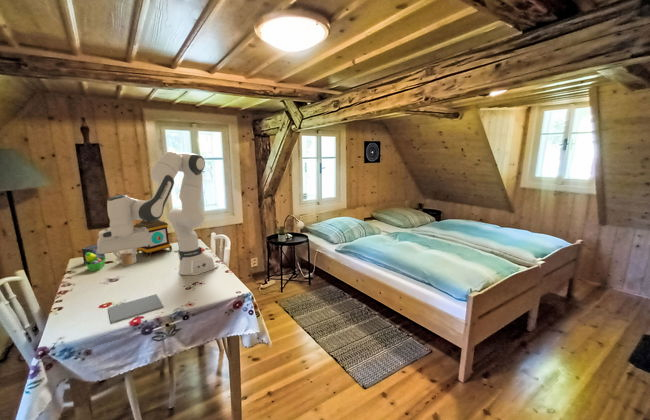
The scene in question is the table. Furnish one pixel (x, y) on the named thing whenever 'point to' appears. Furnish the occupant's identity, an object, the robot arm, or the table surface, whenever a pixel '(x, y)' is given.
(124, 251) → the oak post
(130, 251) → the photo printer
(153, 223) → the decorative lantern
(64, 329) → the table surface
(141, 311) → the slate mat
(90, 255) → the fruit basket
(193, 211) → the robot arm
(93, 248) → the small box
